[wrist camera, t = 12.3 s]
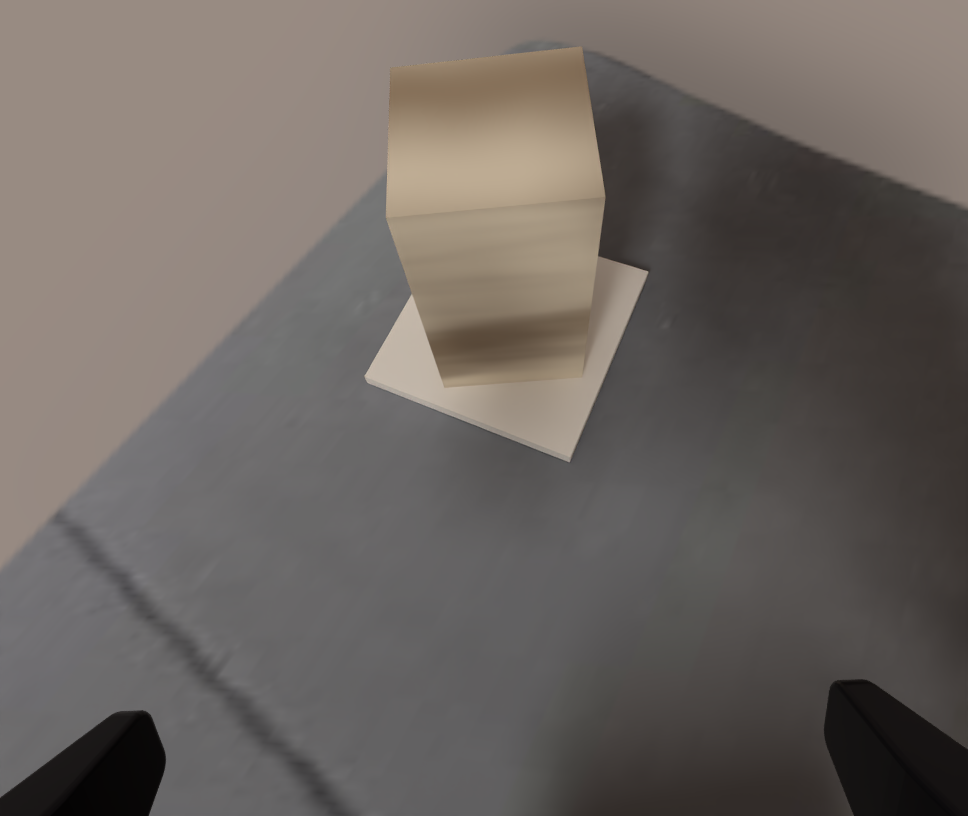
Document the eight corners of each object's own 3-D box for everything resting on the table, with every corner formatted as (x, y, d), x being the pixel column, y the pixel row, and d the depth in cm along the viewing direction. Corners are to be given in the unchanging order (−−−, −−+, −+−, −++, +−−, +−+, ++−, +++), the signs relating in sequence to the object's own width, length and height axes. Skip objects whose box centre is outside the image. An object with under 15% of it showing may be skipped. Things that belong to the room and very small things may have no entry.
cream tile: (646, 279, 26) (648, 271, 26) (569, 462, 24) (570, 457, 23) (459, 222, 29) (458, 213, 28) (368, 383, 26) (364, 376, 25)
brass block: (582, 377, 24) (605, 196, 15) (444, 387, 25) (385, 217, 15) (568, 263, 26) (581, 46, 17) (442, 274, 27) (390, 67, 18)
